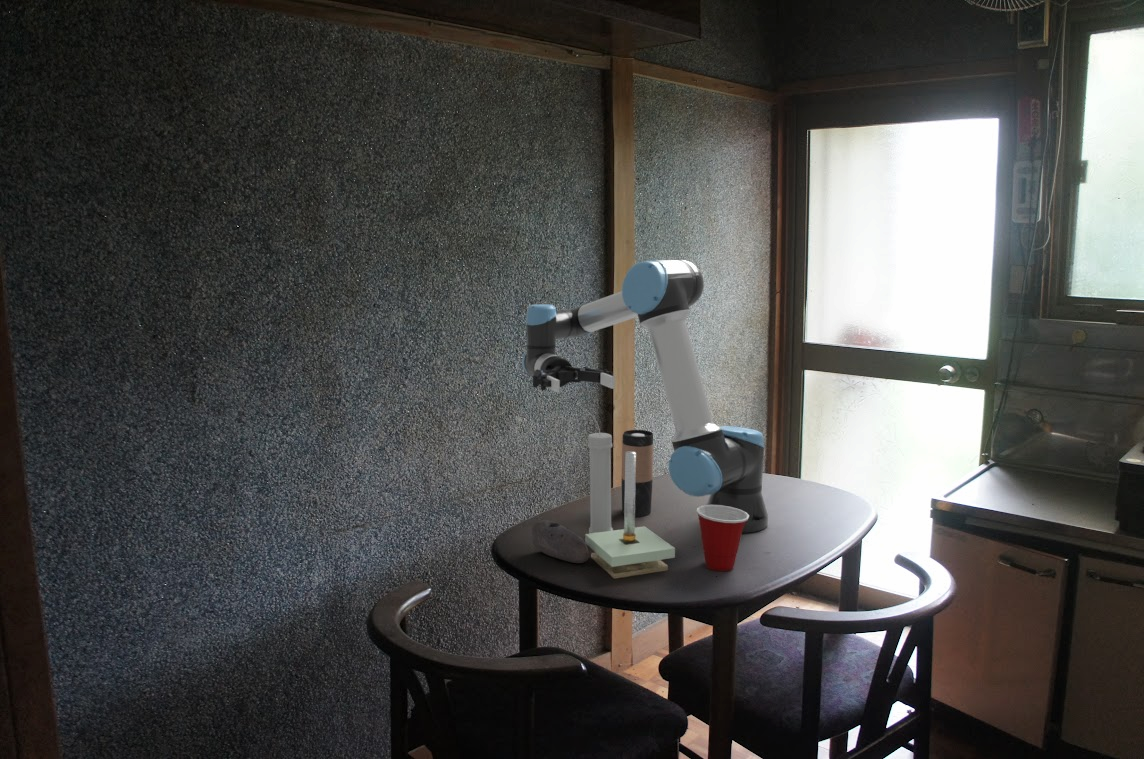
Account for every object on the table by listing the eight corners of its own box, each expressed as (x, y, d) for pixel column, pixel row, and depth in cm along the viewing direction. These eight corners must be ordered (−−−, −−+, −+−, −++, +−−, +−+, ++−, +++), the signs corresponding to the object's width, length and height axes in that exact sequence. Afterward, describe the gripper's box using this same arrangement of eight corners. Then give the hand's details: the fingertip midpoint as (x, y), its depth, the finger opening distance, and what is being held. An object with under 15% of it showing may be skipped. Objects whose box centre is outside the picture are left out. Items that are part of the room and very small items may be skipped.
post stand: (591, 557, 182) (592, 448, 178) (642, 550, 186) (644, 443, 182) (614, 578, 171) (616, 462, 167) (667, 570, 175) (670, 456, 171)
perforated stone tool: (596, 564, 178) (596, 533, 177) (578, 571, 175) (578, 539, 173) (547, 546, 189) (547, 515, 188) (529, 552, 185) (529, 521, 184)
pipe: (611, 545, 189) (610, 412, 184) (583, 543, 190) (581, 411, 185) (615, 536, 194) (614, 407, 189) (588, 534, 196) (586, 406, 190)
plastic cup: (756, 573, 174) (759, 516, 172) (708, 578, 171) (710, 521, 169) (732, 554, 184) (734, 500, 182) (686, 559, 181) (687, 504, 179)
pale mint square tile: (585, 543, 182) (585, 534, 182) (644, 535, 187) (644, 526, 187) (612, 566, 169) (612, 557, 169) (674, 557, 174) (675, 548, 174)
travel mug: (658, 513, 211) (660, 434, 207) (633, 518, 207) (635, 438, 203) (638, 505, 217) (640, 428, 214) (614, 510, 213) (615, 432, 209)
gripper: (599, 382, 220) (635, 397, 200) (506, 388, 211) (534, 404, 191) (599, 353, 218) (635, 365, 199) (506, 358, 209) (534, 371, 190)
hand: (585, 384), depth 195 cm, fingers open, 13 cm apart
